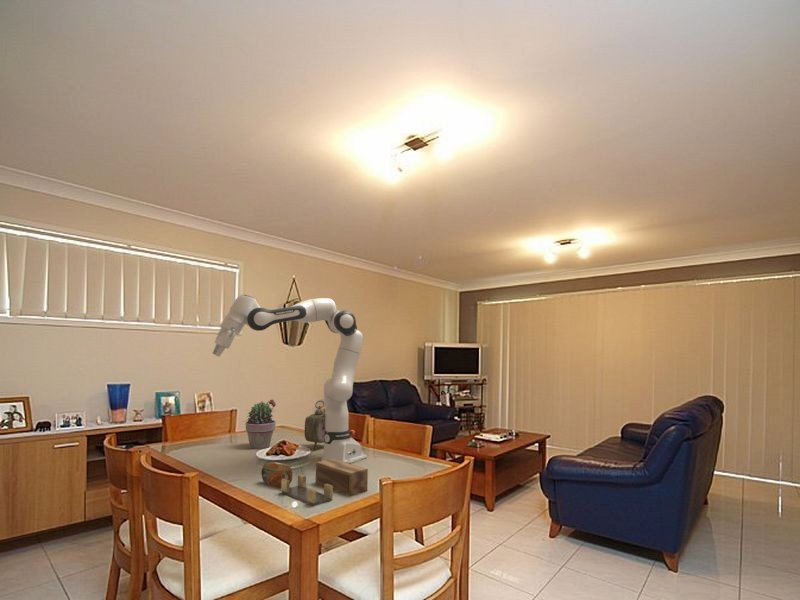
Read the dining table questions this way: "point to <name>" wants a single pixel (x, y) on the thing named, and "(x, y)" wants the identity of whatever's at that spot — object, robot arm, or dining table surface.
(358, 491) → the brown wooden block
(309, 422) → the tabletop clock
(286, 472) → the brown curved piece
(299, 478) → the grey pegged base
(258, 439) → the potted plant
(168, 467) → the dining table surface
